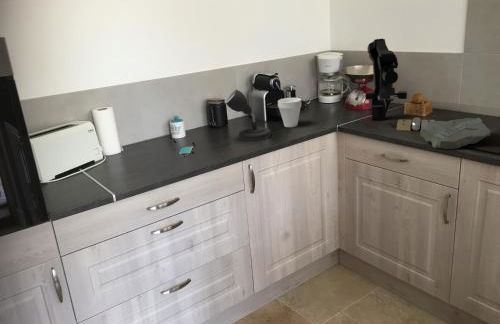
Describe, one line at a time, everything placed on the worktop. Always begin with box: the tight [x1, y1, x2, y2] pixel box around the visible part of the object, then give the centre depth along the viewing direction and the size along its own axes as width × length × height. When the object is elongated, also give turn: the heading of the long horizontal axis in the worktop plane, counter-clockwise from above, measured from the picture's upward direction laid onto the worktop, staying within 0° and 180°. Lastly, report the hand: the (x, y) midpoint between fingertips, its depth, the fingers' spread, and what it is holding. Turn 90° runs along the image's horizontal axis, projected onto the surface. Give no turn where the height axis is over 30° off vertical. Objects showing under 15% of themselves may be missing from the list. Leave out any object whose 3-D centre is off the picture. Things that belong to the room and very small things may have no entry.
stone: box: [419, 117, 492, 150], centre depth 179 cm, size 28×8×20 cm
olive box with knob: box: [396, 119, 421, 131], centre depth 204 cm, size 10×11×4 cm
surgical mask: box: [172, 139, 196, 158], centre depth 200 cm, size 21×4×10 cm
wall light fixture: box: [225, 89, 272, 142], centre depth 209 cm, size 16×25×20 cm
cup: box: [277, 97, 302, 128], centre depth 225 cm, size 12×12×14 cm
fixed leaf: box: [411, 117, 436, 132], centre depth 202 cm, size 10×11×4 cm
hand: (385, 112), depth 207 cm, fingers closed
